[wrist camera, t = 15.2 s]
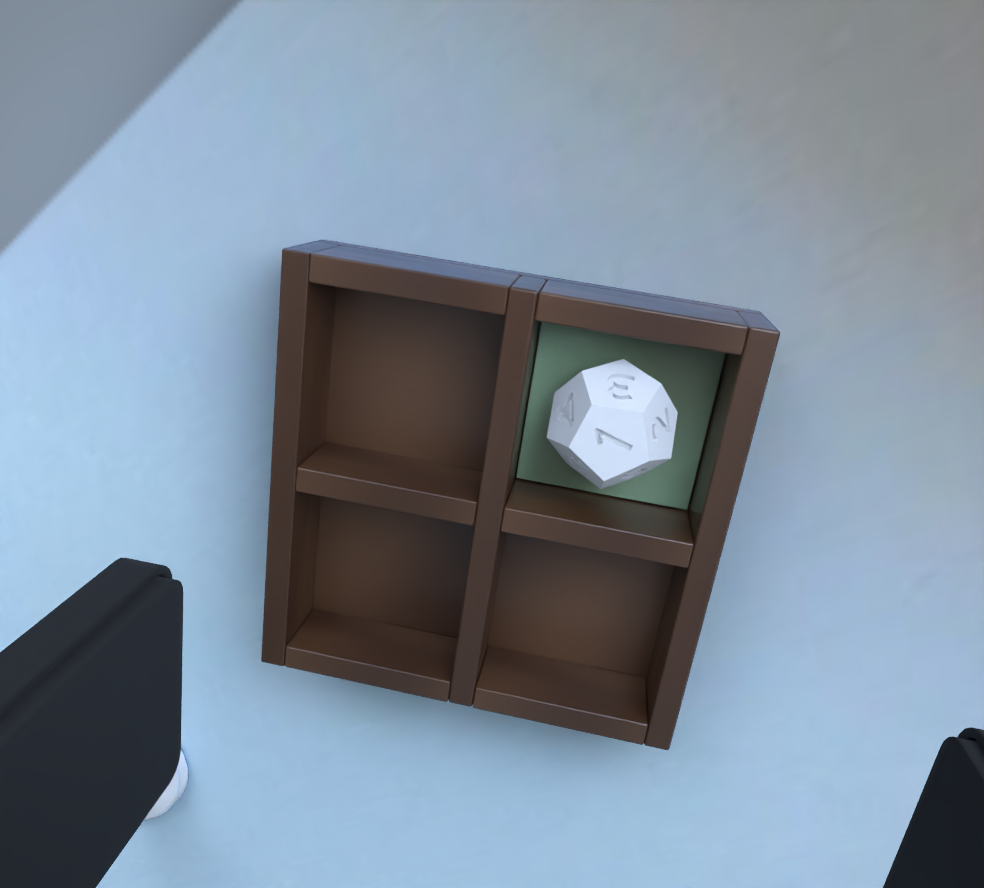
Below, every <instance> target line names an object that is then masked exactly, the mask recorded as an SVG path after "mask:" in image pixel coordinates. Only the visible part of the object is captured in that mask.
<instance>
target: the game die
mask: <svg viewBox="0 0 984 888" xmlns="http://www.w3.org/2000/svg"><path fill="white" fill-rule="evenodd" d="M677 414H678V412H677V410H676V409H675V407H674V405H673V403H672V402H671V400H670V398H669V396H668V395H667V393H666V391H665V389H664V387H663V386H662V384H661V383H660V382H658V381H657V380H655V379H654V378H652V377H650V376H649V375H647V374H646V373H644V372H643V371H641V370H640V369H638V368H637V367H635V366H634V365H632V364H631V363H629V362H627V361H626V360H624V359H622V360H618V361H615V362H611V363H608V364H604V365H601V366H597V367H594V368H590V369H587V370H583V371H581V372H580V373H579V374H577V375H576V376H575V377H573V378H572V379H571V380H570V381H568V382H567V383H566V384H565V385H563V386H562V387H561V388H560V389H558V390H557V391H556V392H555V393H554V399H553V404H552V410H551V416H550V421H549V427H548V432H547V439H548V440H549V441H550V443H551V444H552V445H553V446H554V448H555V449H556V450H557V451H558V453H559V454H560V455H561V457H562V458H563V459H564V460H565V462H566V463H567V464H568V465H570V466H571V467H572V468H574V469H575V470H576V471H578V472H579V473H580V474H581V475H583V476H584V477H585V478H587V479H588V480H589V481H591V482H592V483H593V484H594V485H596V486H597V487H598V488H600V489H603V488H606V487H609V486H612V485H615V484H618V483H621V482H624V481H627V480H630V479H632V478H635V477H638V476H641V475H643V474H644V473H646V472H648V471H650V470H651V469H653V468H655V467H657V466H658V465H660V464H662V463H664V462H666V461H667V460H669V459H671V456H672V449H673V442H674V435H675V428H676V421H677Z"/></svg>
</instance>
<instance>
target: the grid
mask: <svg viewBox="0 0 984 888" xmlns="http://www.w3.org/2000/svg"><path fill="white" fill-rule="evenodd" d="M779 336H780V332H779V331H778V330H777V329H776V327H775V326H774V325H773V324H772V323H771V322H770V321H769V320H768V319H767V318H766V317H765V316H764V315H763V314H762V313H761V312H759V311H753V310H747V309H741V308H735V307H729V306H722V305H716V304H710V303H704V302H698V301H692V300H686V299H680V298H674V297H668V296H662V295H656V294H650V293H644V292H638V291H631V290H625V289H619V288H613V287H607V286H601V285H595V284H589V283H583V282H577V281H571V280H565V279H559V278H553V277H546V276H540V275H534V274H528V273H522V272H516V271H510V270H504V269H498V268H492V267H486V266H480V265H474V264H468V263H462V262H455V261H449V260H443V259H437V258H431V257H425V256H419V255H413V254H407V253H401V252H395V251H389V250H383V249H377V248H370V247H364V246H358V245H352V244H346V243H340V242H334V241H328V240H320V241H314V242H310V243H306V244H301V245H297V246H293V247H289V248H284V249H283V250H282V267H281V286H280V306H279V325H278V345H277V364H276V384H275V404H274V423H273V443H272V462H271V482H270V501H269V521H268V541H267V560H266V580H265V599H264V619H263V638H262V658H261V661H262V662H266V663H271V664H275V665H280V666H284V665H285V666H286V667H290V668H294V669H299V670H304V671H308V672H313V673H317V674H322V675H326V676H331V677H336V678H340V679H345V680H349V681H354V682H358V683H363V684H367V685H372V686H377V687H381V688H386V689H390V690H395V691H399V692H404V693H408V694H413V695H418V696H422V697H427V698H431V699H436V700H440V701H445V702H447V701H448V699H449V702H451V703H456V704H461V705H465V706H472V704H473V707H474V708H477V709H481V710H486V711H491V712H495V713H500V714H504V715H509V716H513V717H518V718H523V719H527V720H532V721H536V722H541V723H545V724H550V725H554V726H559V727H564V728H568V729H573V730H577V731H582V732H586V733H591V734H596V735H600V736H605V737H609V738H614V739H618V740H623V741H627V742H632V743H637V744H641V745H642V744H643V743H644V744H645V745H646V746H651V747H655V748H660V749H664V750H669V748H670V744H671V741H672V737H673V733H674V729H675V726H676V722H677V718H678V714H679V711H680V707H681V703H682V699H683V696H684V692H685V688H686V684H687V681H688V677H689V673H690V669H691V666H692V662H693V658H694V654H695V651H696V647H697V643H698V639H699V636H700V632H701V628H702V624H703V621H704V617H705V613H706V609H707V606H708V602H709V598H710V594H711V591H712V587H713V583H714V580H715V576H716V572H717V568H718V565H719V561H720V557H721V553H722V550H723V546H724V542H725V538H726V535H727V531H728V527H729V523H730V520H731V516H732V512H733V508H734V505H735V501H736V497H737V493H738V490H739V486H740V482H741V478H742V475H743V471H744V467H745V463H746V460H747V456H748V452H749V448H750V445H751V441H752V437H753V433H754V430H755V426H756V422H757V418H758V415H759V411H760V407H761V403H762V400H763V396H764V392H765V388H766V385H767V381H768V377H769V373H770V370H771V366H772V362H773V358H774V355H775V351H776V347H777V344H778V340H779ZM622 359H624V360H626V361H627V362H629V363H631V364H632V365H634V366H635V367H637V368H638V369H640V370H641V371H643V372H644V373H646V374H647V375H649V376H650V377H652V378H654V379H655V380H657V381H658V382H660V383H661V384H662V386H663V387H664V389H665V391H666V393H667V395H668V396H669V398H670V400H671V402H672V403H673V405H674V407H675V409H676V410H677V412H678V414H677V421H676V428H675V435H674V442H673V449H672V456H671V459H669V460H667V461H666V462H664V463H662V464H660V465H658V466H657V467H655V468H653V469H651V470H650V471H648V472H646V473H644V474H643V475H641V476H638V477H635V478H632V479H630V480H627V481H624V482H621V483H618V484H615V485H612V486H609V487H606V488H603V489H600V488H598V487H597V486H596V485H594V484H593V483H592V482H591V481H589V480H588V479H587V478H585V477H584V476H583V475H581V474H580V473H579V472H578V471H576V470H575V469H574V468H572V467H571V466H570V465H568V464H567V463H566V462H565V460H564V459H563V458H562V457H561V455H560V454H559V453H558V451H557V450H556V449H555V448H554V446H553V445H552V444H551V443H550V441H549V440H548V439H547V432H548V427H549V421H550V416H551V410H552V404H553V399H554V393H555V392H556V391H557V390H558V389H560V388H561V387H562V386H563V385H565V384H566V383H567V382H568V381H570V380H571V379H572V378H573V377H575V376H576V375H577V374H579V373H580V372H581V371H583V370H587V369H590V368H594V367H597V366H601V365H604V364H608V363H611V362H615V361H618V360H622Z"/></svg>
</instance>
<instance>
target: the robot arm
mask: <svg viewBox="0 0 984 888" xmlns="http://www.w3.org/2000/svg"><path fill="white" fill-rule="evenodd" d="M182 635H183V587H182V584H181V582H180V581H178V580H174V579H172V574H171V571H170V569H169V568H168V567H166V566H163V565H158V564H153V563H148V562H143V561H139V560H134V559H129V558H120V559H118V560H116V561H114V562H113V563H112V564H111V565H109V566H108V567H107V568H106V569H104V570H103V571H102V572H101V573H99V574H98V575H97V576H96V577H94V578H93V579H92V580H91V581H89V582H88V583H87V584H86V585H84V586H83V587H82V588H81V589H79V590H78V591H77V592H76V593H74V594H73V595H72V596H71V597H69V598H68V599H67V600H66V601H64V602H63V603H62V604H60V605H59V606H58V607H57V608H55V609H54V610H53V611H52V612H50V613H49V614H48V615H47V616H45V617H44V618H43V619H42V620H40V621H39V622H38V623H37V624H35V625H34V626H33V627H32V628H30V629H29V630H28V631H27V632H25V633H24V634H23V635H22V636H20V637H19V638H18V639H17V640H15V641H14V642H13V643H12V644H10V645H9V646H8V647H7V648H5V649H4V650H3V651H2V652H0V888H96V886H97V885H98V884H99V882H100V881H101V879H102V878H103V877H104V875H105V874H106V872H107V871H108V870H109V868H110V867H111V865H112V864H113V862H114V861H115V860H116V858H117V857H118V855H119V854H120V853H121V851H122V850H123V848H124V847H125V846H126V844H127V843H128V841H129V840H130V839H131V837H132V836H133V834H134V833H135V832H136V830H137V829H138V827H139V826H140V825H141V823H142V822H143V820H144V819H145V818H146V816H147V815H148V813H149V812H150V810H151V809H152V808H153V806H154V805H155V803H156V802H157V801H158V799H159V798H160V796H161V795H162V794H163V792H164V791H165V789H166V788H167V787H168V785H169V784H170V782H171V780H172V779H173V776H174V774H175V772H176V769H177V766H178V763H179V759H180V752H181V698H182ZM883 888H984V730H981V729H976V728H967V729H964V730H963V731H962V732H961V733H960V734H959V736H958V737H948V738H947V739H946V740H945V741H944V742H943V744H942V745H941V747H940V750H939V752H938V755H937V757H936V759H935V762H934V764H933V767H932V769H931V772H930V774H929V777H928V779H927V781H926V784H925V786H924V789H923V791H922V794H921V796H920V799H919V801H918V803H917V806H916V808H915V811H914V813H913V816H912V818H911V821H910V823H909V825H908V828H907V830H906V833H905V835H904V838H903V840H902V843H901V845H900V847H899V850H898V852H897V855H896V857H895V860H894V862H893V865H892V867H891V869H890V872H889V874H888V877H887V879H886V882H885V884H884V887H883Z"/></svg>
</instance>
